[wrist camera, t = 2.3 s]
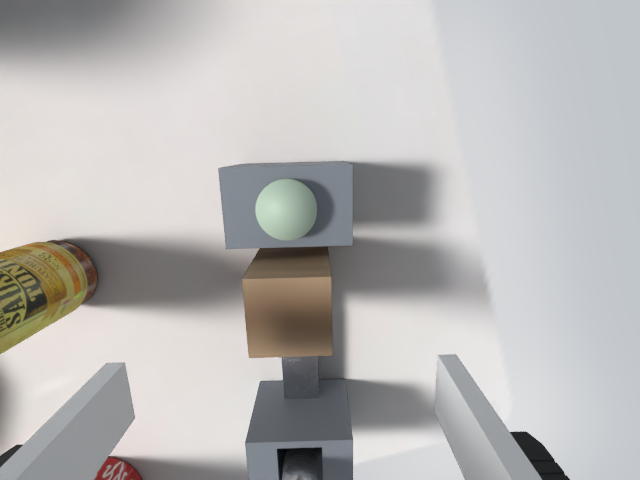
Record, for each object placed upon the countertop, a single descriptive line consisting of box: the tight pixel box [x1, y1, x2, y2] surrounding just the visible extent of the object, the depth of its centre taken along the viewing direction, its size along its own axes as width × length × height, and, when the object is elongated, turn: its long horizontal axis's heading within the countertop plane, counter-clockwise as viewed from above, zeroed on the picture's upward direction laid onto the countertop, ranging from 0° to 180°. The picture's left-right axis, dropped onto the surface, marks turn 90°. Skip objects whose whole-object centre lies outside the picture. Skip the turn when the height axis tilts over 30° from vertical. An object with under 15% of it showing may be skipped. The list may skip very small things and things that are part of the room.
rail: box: [282, 356, 319, 399], centre depth 29 cm, size 15×3×2 cm, turn 1°
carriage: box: [242, 246, 333, 358], centre depth 24 cm, size 5×5×9 cm
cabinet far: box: [245, 379, 353, 480], centre depth 29 cm, size 5×8×7 cm, turn 91°
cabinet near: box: [218, 161, 353, 249], centre depth 24 cm, size 5×8×8 cm, turn 91°
